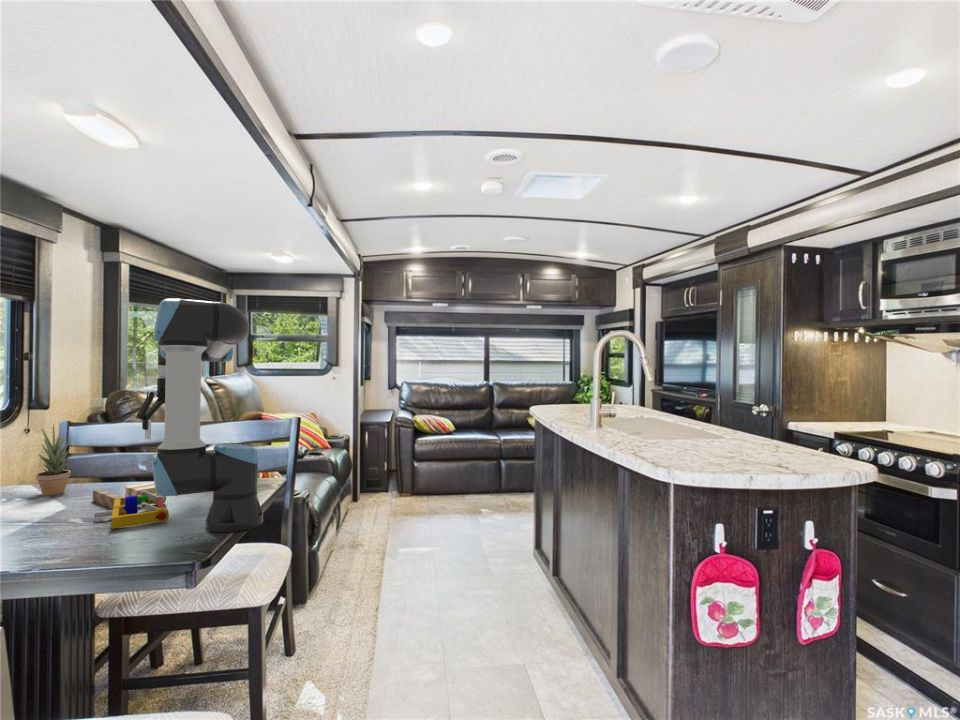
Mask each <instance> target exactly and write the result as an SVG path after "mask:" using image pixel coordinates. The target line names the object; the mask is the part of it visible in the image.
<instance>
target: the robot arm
mask: <svg viewBox="0 0 960 720" xmlns="http://www.w3.org/2000/svg"><path fill="white" fill-rule="evenodd" d="M157 309H158V310H157V315H156V319H155V324H154V325H155V326H154V332H153V340H154V341H157V372H156V373H157V379H156V389H157V390H156V391H150V390H149V391H147V393H146V398H145V399H144V401H143V403H142V405H141V406H140V408H139V410H138V413H137V414H136V415H135V417H136V419H139V420H141V423H142V425H141V426H142V428H141V429H142V430H143V431H144V439H145V440H151V439H152V420H150V419H151V417H153V415H155V413H156V412H157V410H158V409H159V408H161V406H163V405H164V439H163V442H161V444H159V445H158V447H157V453H153V454H152V455H151V456H150V458H151V468H152V474H153V475H152V476H153V482H154V483H155V488H156V492H157V494H158V495H160V496H166V497H178V496H184V495H193V494H200V493H201V494H202V493H209V492H210V493H211V492H213V494H212V497H213V498H212V502H211V505H210V508H209V510H208V512H207V513H208V514H207V516H206V519H205V529H206V531H210V532H212V533H236V532H242V531H243V532H244V531H246V530H251V529H255V528H257V527H259V526H261V525H263V523H264V513H263V511H262V507H261V504H260V501H259V497H258V475H259V473H258V468H259V457H258V456H259V455H258V450H257V448H255V447H253V446H251V445H246V444H238V443H217V444H214V446H213V449H207V445H206V443H205V442H204V441H203V439H201V397H202V396H201V395H202V394H201V393H202V392H201V390H202V389H201V388H202V385H201V384H202V362H212V363H213V362H214V363H215V362H216V363H217V362H218V363H226V362H231V361H232V360H233V356H234V346H235V345H237V344H240V343H242V342H243V341H244V340H245V339H246V338H247V337H248V335H249V332H250V324H249V323H250V322H249V320H248V318H247V317H246V315H245V314H244V313H243V311H241V310H240V309H238V308H237V307H235V306H233V305H232V304H229V303H226V302H223V301H210V300H209V301H208V300H198V299H186V298H165V299H164V298H163V299H162V300H161V301H160V302H159V305H158V308H157ZM155 397H156V398H157V399H156V400H155V401H154V403H153V404H152V402H153V400H154V399H155ZM151 404H152V405H151Z"/></svg>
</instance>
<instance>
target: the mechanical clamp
mask: <svg viewBox="0 0 960 720" xmlns="http://www.w3.org/2000/svg"><path fill="white" fill-rule="evenodd" d="M124 497H125V496H124ZM166 501H167V496H160V495H158V494H157V493H154V494H152V493H149V492H147V491H145V490H143V491H141V495H137V496H129V497H125V498H121V499H115V501H114V506H113V509H110V510H103V511H96V512H94V518H101V517H102V518H104V517H109V516H111V518H110V519H111V520H110V521H111V522H110V523H111V524H110V525H111V526H110V527H111V530H113V529H120V528H126V527H135V526H139V525H146V524H153V523H154V524H155V523H160V524H162V523H165V522H167V521H168V519H169V517H170V512H169V509H168V508H166V507H164V504H165V502H166ZM153 504H154V505H153ZM156 506H157V507H156ZM139 507H140V508H141V509H143V510H145V511H144V512H139Z"/></svg>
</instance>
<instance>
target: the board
mask: <svg viewBox="0 0 960 720" xmlns="http://www.w3.org/2000/svg"><path fill="white" fill-rule="evenodd" d="M121 498H125V496H121V495H119V494H116V493H113V492H111V491H107V490H105V489H103V488H98V489H93V491H92V501H93V502H95V503H97V504H100V505H102V506H105V507H108V508H109V509H111V510H113V506H114V501H115V499H121Z"/></svg>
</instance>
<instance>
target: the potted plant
mask: <svg viewBox="0 0 960 720" xmlns="http://www.w3.org/2000/svg"><path fill="white" fill-rule="evenodd" d="M41 430H42V433H43V436H44V438H43V440H44V444H45V446H44V444H41V447H42V449H43V451H44V452H45V453H46V455H47V457H48V458H47V457H43V456H42V455H41V454H38V456H39V457H40V459H41V460H42V461H44V463H42V465H43V466H44V468H43V470H44V471H42V472H39V473H36V474H35V480H36V481H37V482H38V485H39V487H40V491H41V493H42V495H43V494H44V495H43V496H55V495H54V494H57V495H61V494H63V493H65V491H66V487H67V484H68V479H69V477H70V476H71V473H72V472H71V470H68V469H65V467H66V466H67V465H68V464H69V463H70V462H71V461H72V460H73V458H71V457H70V456H68V457H67V458H66V456H67V455H68V453H69V451H70V450H67V451H66V449H67V447H68V446H69V442H67V443H66V445H65V446H64V448H63V447H62V446H63V443H64V439H65V434H63V435H62V437H61V439H60V438H59V437H57V438H56V435H55V432H56V431H55V425H54V423H52V442H51V441H50V439H49V437H48V435H47V433H46V431H45V430H44V428H43V427H42V429H41ZM62 448H63V449H62ZM65 458H66V459H65ZM64 459H65V460H64ZM45 468H46V469H45ZM60 493H61V494H60Z"/></svg>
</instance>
